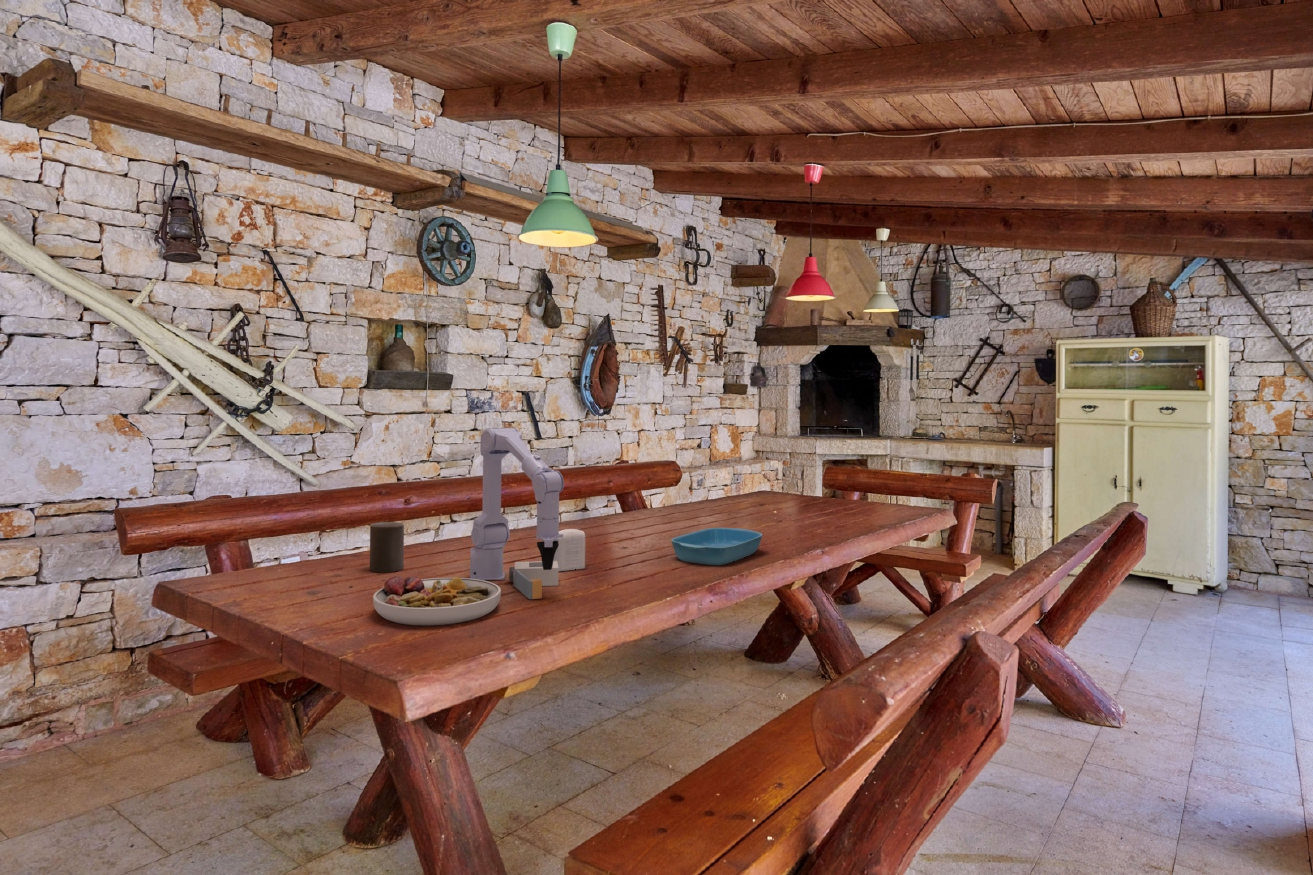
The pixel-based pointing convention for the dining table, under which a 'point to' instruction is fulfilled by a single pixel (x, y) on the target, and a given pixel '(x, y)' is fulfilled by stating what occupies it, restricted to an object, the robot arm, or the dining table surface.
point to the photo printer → (570, 550)
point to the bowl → (435, 600)
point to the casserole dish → (716, 545)
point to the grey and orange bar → (527, 585)
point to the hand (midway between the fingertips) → (547, 569)
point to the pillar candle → (386, 547)
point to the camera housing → (537, 572)
